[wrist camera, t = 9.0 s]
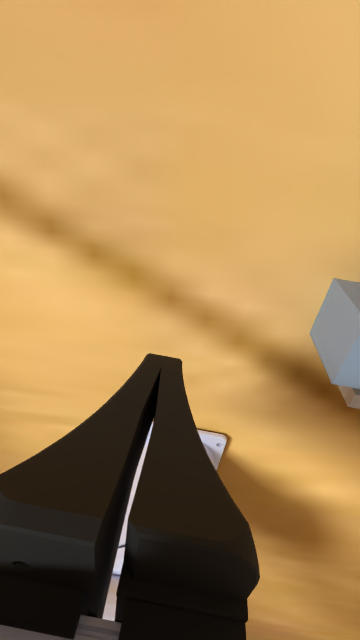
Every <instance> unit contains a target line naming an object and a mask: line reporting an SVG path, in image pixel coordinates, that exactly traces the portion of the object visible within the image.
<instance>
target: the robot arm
mask: <svg viewBox="0 0 360 640" xmlns="http://www.w3.org/2000/svg"><path fill="white" fill-rule="evenodd" d="M153 418H154V421H153ZM226 442H227V438H226V436H225V435H223V434H218V433H212V432H207V431H202V430H197V428H196V425H195V423H194V420H193V417H192V414H191V410H190V407H189V404H188V400H187V395H186V391H185V387H184V381H183V374H182V361H181V360H180V359H178V358H172V357H167V356H161V355H156V354H151V353H149V354H147V355H146V357H145V358H144V360H143V361H142V363H141V364H140V366H139V367H138V368H137V369H136V371H135V372H134V373H133V374H132V376H131V377H130V378H129V379H128V380H127V381H126V383H125V384H124V385H123V386H122V387H121V388H120V389H119V390H118V391H117V392H116V393H115V394H114V395H113V396H112V397H111V398H110V399H109V400H108V401H107V402H106V403H105V404H104V405H103V406H102V407H101V408H100V409H98V410H97V411H96V412H95V413H94V414H93V415H91V416H90V417H89V418H88V419H87V420H85V421H84V422H83V423H81V424H80V425H79V426H78V427H76V428H75V429H74V430H72V431H71V432H70V433H68V434H67V435H65V436H64V437H62V438H61V439H59V440H58V441H56V442H55V443H53V444H52V445H50V446H49V447H47V448H45V449H44V450H42V451H41V452H39V453H38V454H36V455H34V456H33V457H31V458H29V459H27V460H26V461H24V462H22V463H20V464H18V465H16V466H15V467H13V468H11V469H9V470H7V471H6V472H4V473H2V474H0V640H246V628H245V622H247V621H248V607H247V598H248V597H249V595H250V594H251V592H252V591H253V590H254V588H255V587H256V585H257V584H258V581H259V578H260V574H259V564H258V559H257V553H256V549H255V545H254V540H253V537H252V533H251V530H250V527H249V524H248V522H247V521H246V519H245V518H244V516H243V515H242V513H241V512H240V510H239V509H238V507H237V506H236V504H235V503H234V501H233V499H232V498H231V496H230V495H229V493H228V491H227V489H226V488H225V486H224V484H223V483H222V481H221V479H220V477H219V475H218V473H217V472H216V471H217V468H218V465H219V462H220V459H221V457H222V454H223V451H224V448H225V445H226Z"/></svg>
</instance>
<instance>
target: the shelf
mask: <svg viewBox="0 0 360 640" xmlns="http://www.w3.org/2000/svg"><path fill="white" fill-rule="evenodd" d="M338 387H339V389H340V391H341V394H342V396H343V398H344V400H345V402H346V404H347V406H348V407H351V408H357V409H360V389H357V388H352V387H346V386H341V385H338Z"/></svg>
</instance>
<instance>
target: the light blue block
mask: <svg viewBox="0 0 360 640" xmlns="http://www.w3.org/2000/svg"><path fill="white" fill-rule="evenodd" d="M310 336H311V338H312V340H313V343H314V345H315V347H316V349H317V352H318V354H319V356H320V358H321V361H322V363H323V365H324V367H325V370H326V372H327V374H328V376H329V379H330V381H331V383H332V384H335V385H341V386H346V387H352V388H357V389H360V283H358V282H352V281H347V280H341V279H335V278H334V279H333V281H332V283H331V286H330V288H329V290H328V292H327V295H326V297H325V299H324V301H323V304H322V306H321V308H320V310H319V313H318V315H317V317H316V319H315V322H314V324H313V326H312V328H311V331H310Z"/></svg>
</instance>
